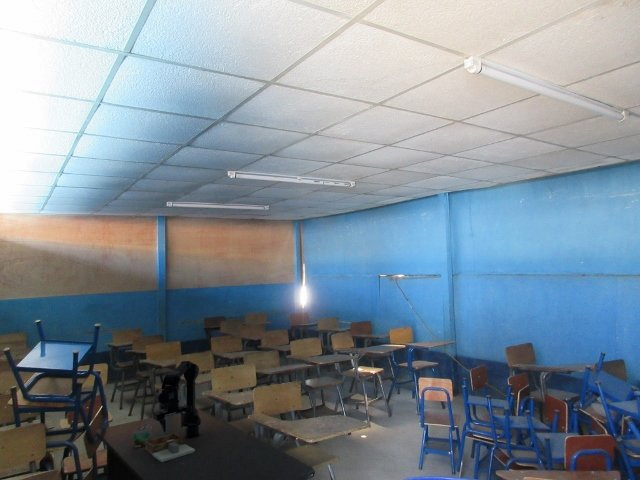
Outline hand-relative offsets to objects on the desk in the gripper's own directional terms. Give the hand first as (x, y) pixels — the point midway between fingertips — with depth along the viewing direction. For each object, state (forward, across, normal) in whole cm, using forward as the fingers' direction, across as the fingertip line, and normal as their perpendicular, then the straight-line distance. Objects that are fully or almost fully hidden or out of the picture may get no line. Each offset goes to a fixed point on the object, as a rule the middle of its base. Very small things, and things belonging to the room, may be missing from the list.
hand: (173, 429), depth 223 cm
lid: (+12, +1, +3) cm, 12 cm away
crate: (+12, +1, -9) cm, 15 cm away
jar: (+11, -2, -9) cm, 15 cm away
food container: (+12, +6, -24) cm, 27 cm away
